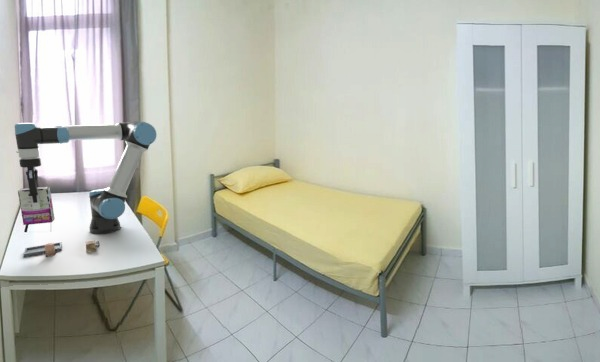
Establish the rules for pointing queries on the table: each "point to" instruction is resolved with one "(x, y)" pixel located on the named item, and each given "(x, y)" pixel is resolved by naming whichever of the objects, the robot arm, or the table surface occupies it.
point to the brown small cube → (49, 249)
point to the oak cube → (90, 246)
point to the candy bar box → (37, 215)
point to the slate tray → (40, 249)
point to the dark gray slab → (97, 243)
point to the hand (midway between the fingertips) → (37, 207)
